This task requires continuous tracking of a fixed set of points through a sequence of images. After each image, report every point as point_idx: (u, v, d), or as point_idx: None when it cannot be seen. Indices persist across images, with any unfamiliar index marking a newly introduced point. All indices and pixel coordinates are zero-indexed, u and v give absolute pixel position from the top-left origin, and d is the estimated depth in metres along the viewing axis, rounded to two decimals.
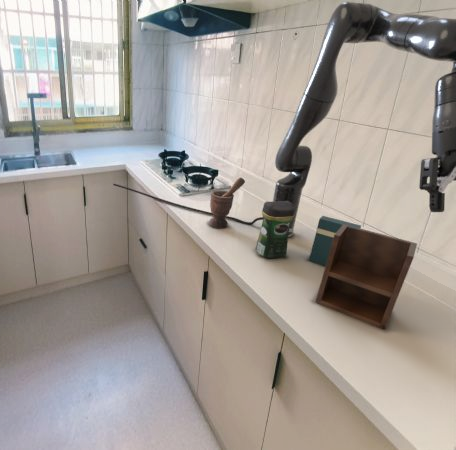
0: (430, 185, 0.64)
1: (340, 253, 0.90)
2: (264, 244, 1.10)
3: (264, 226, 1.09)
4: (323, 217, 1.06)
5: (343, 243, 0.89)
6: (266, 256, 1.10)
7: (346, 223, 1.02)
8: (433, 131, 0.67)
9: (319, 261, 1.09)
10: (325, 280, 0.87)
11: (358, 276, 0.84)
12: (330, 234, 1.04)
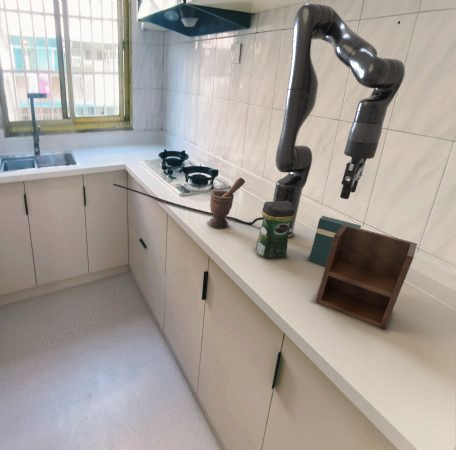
0: (351, 183, 0.92)
1: (340, 253, 0.90)
2: (264, 244, 1.10)
3: (264, 226, 1.09)
4: (323, 217, 1.06)
5: (343, 243, 0.89)
6: (266, 256, 1.10)
7: (346, 223, 1.02)
8: (352, 140, 0.92)
9: (319, 261, 1.09)
10: (325, 280, 0.87)
11: (358, 276, 0.84)
12: (330, 234, 1.04)
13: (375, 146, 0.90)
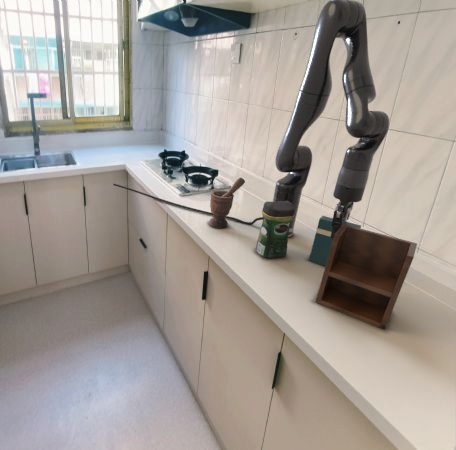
0: (339, 227, 0.99)
1: (340, 253, 0.90)
2: (264, 244, 1.10)
3: (264, 226, 1.09)
4: (323, 217, 1.06)
5: (343, 243, 0.89)
6: (266, 256, 1.10)
7: (346, 223, 1.02)
8: (341, 184, 0.97)
9: (319, 261, 1.09)
10: (325, 280, 0.87)
11: (358, 276, 0.84)
12: (330, 234, 1.04)
13: (362, 191, 0.95)
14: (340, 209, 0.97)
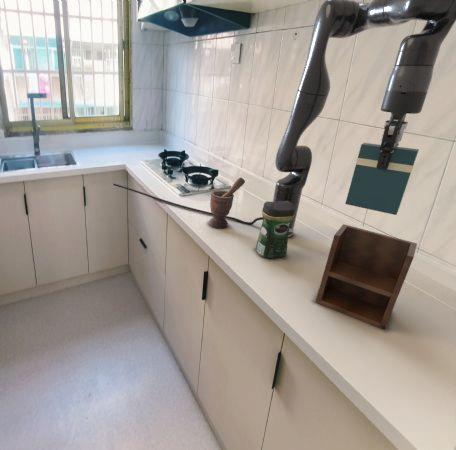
0: (392, 150, 0.74)
1: (340, 253, 0.90)
2: (264, 244, 1.10)
3: (264, 226, 1.09)
4: (365, 143, 0.81)
5: (343, 243, 0.89)
6: (266, 256, 1.10)
7: (398, 147, 0.77)
8: (394, 90, 0.72)
9: (360, 203, 0.84)
10: (325, 280, 0.87)
11: (358, 276, 0.84)
12: (376, 164, 0.79)
13: (423, 97, 0.71)
14: (393, 123, 0.72)
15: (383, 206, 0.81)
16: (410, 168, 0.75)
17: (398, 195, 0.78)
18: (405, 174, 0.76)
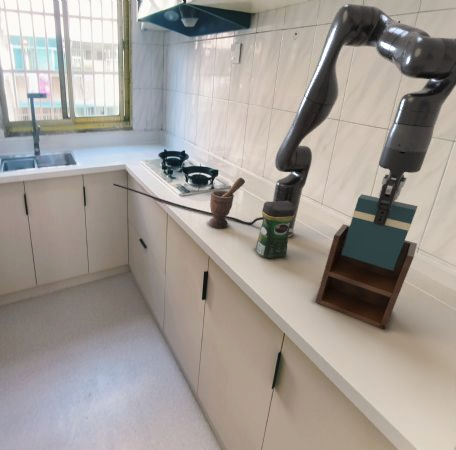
0: (389, 208, 0.71)
1: (340, 253, 0.90)
2: (264, 244, 1.10)
3: (264, 226, 1.09)
4: (362, 196, 0.79)
5: (343, 243, 0.89)
6: (266, 256, 1.10)
7: (396, 203, 0.75)
8: (392, 148, 0.69)
9: (356, 255, 0.81)
10: (325, 280, 0.87)
11: (358, 276, 0.84)
12: (373, 218, 0.77)
13: (423, 156, 0.68)
14: (391, 182, 0.70)
15: (380, 261, 0.78)
16: (408, 226, 0.73)
17: (396, 252, 0.76)
18: (402, 231, 0.74)
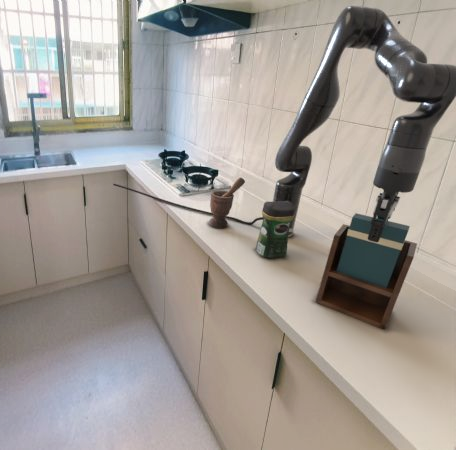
0: (383, 225, 0.71)
1: (340, 253, 0.90)
2: (264, 244, 1.10)
3: (264, 226, 1.09)
4: (356, 215, 0.81)
5: (343, 243, 0.89)
6: (266, 256, 1.10)
7: (389, 223, 0.77)
8: (386, 169, 0.71)
9: (350, 272, 0.83)
10: (325, 280, 0.87)
11: None
12: (367, 237, 0.79)
13: (416, 177, 0.70)
14: (386, 198, 0.71)
15: (374, 278, 0.80)
16: (400, 246, 0.75)
17: (389, 270, 0.78)
18: (395, 251, 0.76)
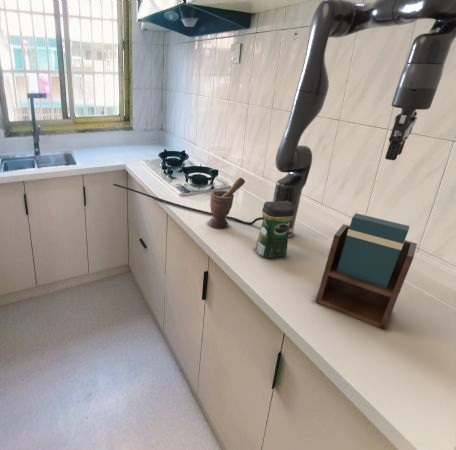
0: (401, 140, 0.76)
1: (340, 253, 0.90)
2: (264, 244, 1.10)
3: (264, 226, 1.09)
4: (356, 215, 0.81)
5: (343, 243, 0.89)
6: (266, 256, 1.10)
7: (389, 223, 0.77)
8: (405, 87, 0.75)
9: (350, 272, 0.83)
10: (325, 280, 0.87)
11: None
12: (367, 237, 0.79)
13: (433, 93, 0.74)
14: None
15: (374, 278, 0.80)
16: (400, 246, 0.75)
17: (389, 270, 0.78)
18: (395, 251, 0.76)
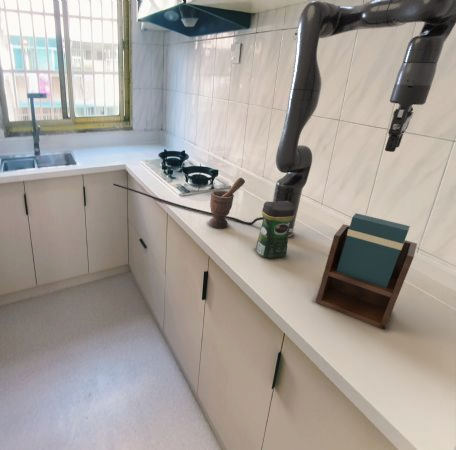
0: (399, 132, 0.82)
1: (340, 253, 0.90)
2: (264, 244, 1.10)
3: (264, 226, 1.09)
4: (356, 215, 0.81)
5: (343, 243, 0.89)
6: (266, 256, 1.10)
7: (389, 223, 0.77)
8: (402, 84, 0.82)
9: (350, 272, 0.83)
10: (325, 280, 0.87)
11: None
12: (367, 237, 0.79)
13: (427, 90, 0.81)
14: None
15: (374, 278, 0.80)
16: (400, 246, 0.75)
17: (389, 270, 0.78)
18: (395, 251, 0.76)
